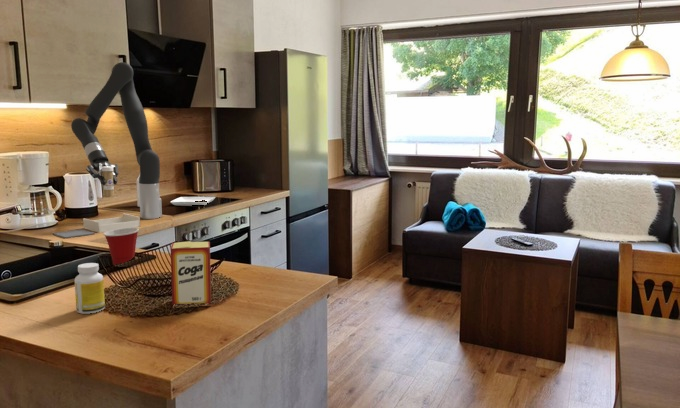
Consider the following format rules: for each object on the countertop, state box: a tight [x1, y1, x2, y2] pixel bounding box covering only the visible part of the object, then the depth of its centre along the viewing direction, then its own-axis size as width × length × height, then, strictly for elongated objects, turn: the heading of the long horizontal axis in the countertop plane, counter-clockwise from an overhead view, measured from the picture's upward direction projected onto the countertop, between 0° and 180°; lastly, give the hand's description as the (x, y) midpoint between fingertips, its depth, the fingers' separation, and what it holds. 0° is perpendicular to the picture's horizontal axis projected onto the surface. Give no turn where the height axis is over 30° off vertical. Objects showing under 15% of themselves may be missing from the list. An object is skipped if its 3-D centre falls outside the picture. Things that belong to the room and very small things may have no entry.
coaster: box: [52, 228, 96, 239], centre depth 221 cm, size 12×12×1 cm
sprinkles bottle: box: [102, 166, 115, 198], centre depth 233 cm, size 5×5×14 cm
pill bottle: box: [74, 262, 106, 315], centre depth 131 cm, size 6×6×12 cm
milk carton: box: [136, 174, 140, 208], centre depth 298 cm, size 7×7×19 cm
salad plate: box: [170, 196, 216, 207], centre depth 310 cm, size 21×21×3 cm
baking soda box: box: [170, 240, 212, 305], centre depth 137 cm, size 10×6×16 cm
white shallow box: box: [82, 212, 141, 234], centre depth 237 cm, size 19×14×4 cm
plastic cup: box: [102, 227, 140, 266], centre depth 173 cm, size 11×11×12 cm
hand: (110, 183), depth 232 cm, fingers closed on sprinkles bottle, 4 cm apart
